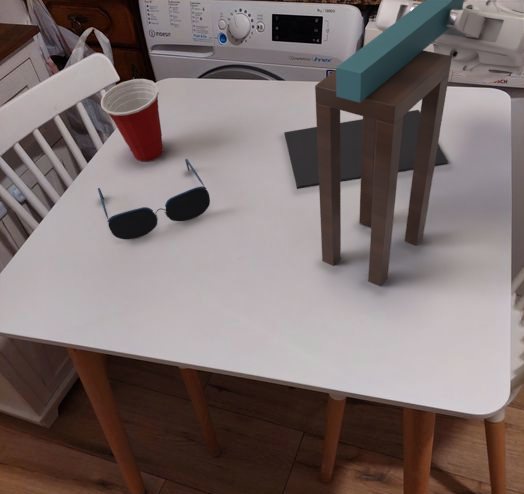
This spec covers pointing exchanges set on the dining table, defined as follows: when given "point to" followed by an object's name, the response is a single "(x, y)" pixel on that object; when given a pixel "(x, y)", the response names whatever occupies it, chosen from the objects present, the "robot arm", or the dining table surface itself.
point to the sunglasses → (146, 220)
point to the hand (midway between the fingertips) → (432, 14)
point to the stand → (381, 155)
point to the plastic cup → (136, 116)
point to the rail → (393, 49)
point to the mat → (349, 150)
